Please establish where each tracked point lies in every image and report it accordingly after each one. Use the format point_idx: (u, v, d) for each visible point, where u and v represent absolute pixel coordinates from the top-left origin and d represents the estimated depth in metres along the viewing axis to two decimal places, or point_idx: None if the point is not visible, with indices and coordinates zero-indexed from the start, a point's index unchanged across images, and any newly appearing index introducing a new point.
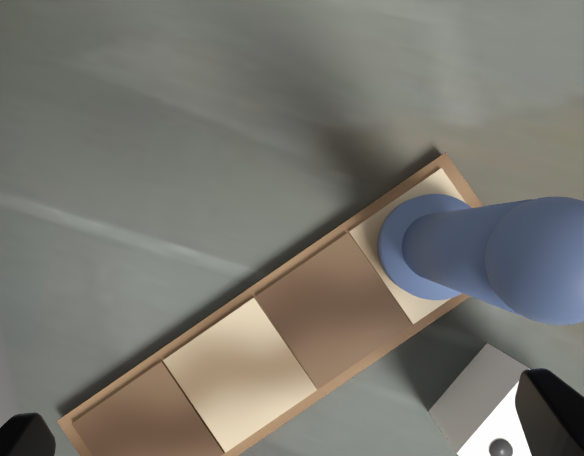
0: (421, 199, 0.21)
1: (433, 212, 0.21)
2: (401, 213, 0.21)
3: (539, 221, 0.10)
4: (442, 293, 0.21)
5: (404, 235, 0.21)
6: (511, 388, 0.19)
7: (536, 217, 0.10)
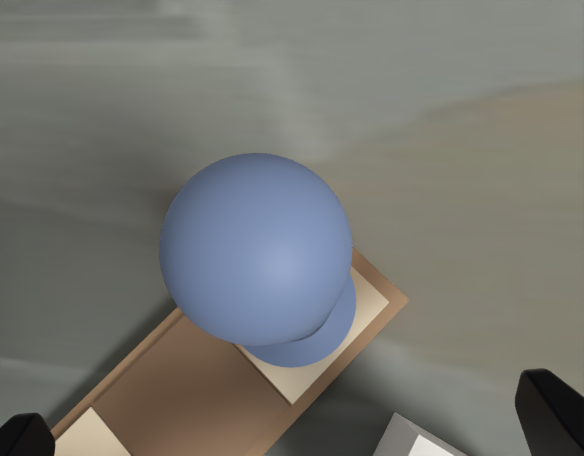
0: None
1: None
2: None
3: (187, 186, 0.07)
4: (309, 356, 0.17)
5: None
6: None
7: (188, 183, 0.07)
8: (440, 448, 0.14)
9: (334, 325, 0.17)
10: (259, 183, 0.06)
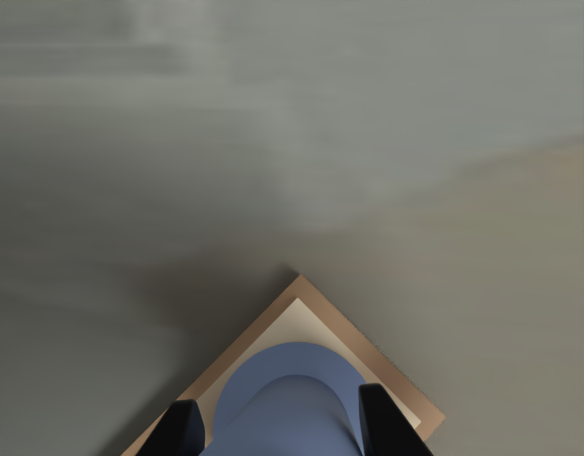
0: (262, 356, 0.14)
1: (283, 373, 0.14)
2: (235, 384, 0.14)
3: None
4: None
5: None
6: None
7: None
8: None
9: None
10: None
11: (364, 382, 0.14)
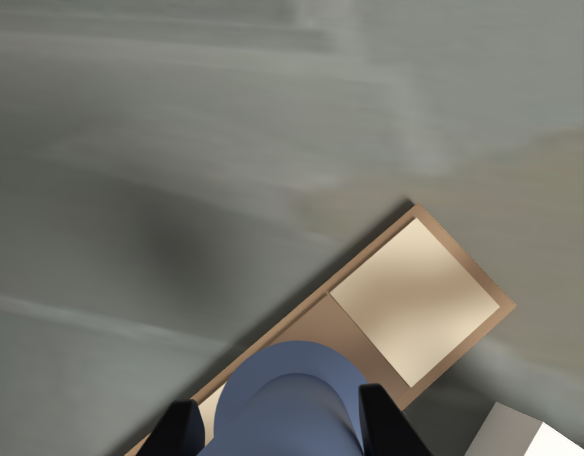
0: (262, 355, 0.14)
1: (284, 372, 0.14)
2: (236, 382, 0.14)
3: None
4: None
5: None
6: (527, 448, 0.17)
7: None
8: (561, 435, 0.17)
9: None
10: None
11: (365, 380, 0.14)
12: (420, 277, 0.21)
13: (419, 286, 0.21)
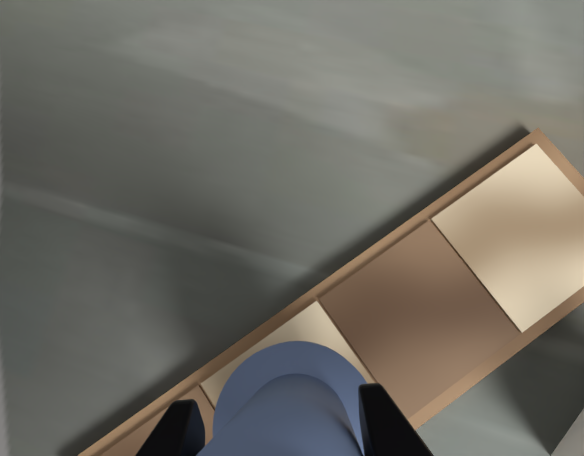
0: (262, 355, 0.14)
1: (283, 372, 0.14)
2: (235, 383, 0.14)
3: None
4: None
5: None
6: None
7: None
8: None
9: None
10: None
11: (364, 381, 0.13)
12: (538, 210, 0.19)
13: (536, 220, 0.18)
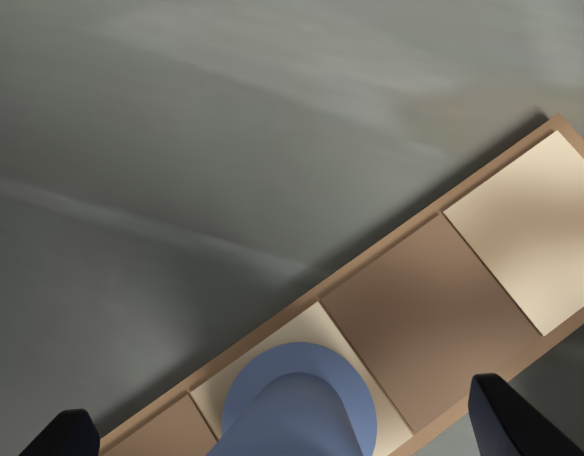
0: (267, 356, 0.15)
1: (287, 371, 0.15)
2: (242, 381, 0.15)
3: None
4: None
5: None
6: None
7: None
8: None
9: None
10: None
11: (361, 379, 0.15)
12: (560, 202, 0.17)
13: (558, 212, 0.17)
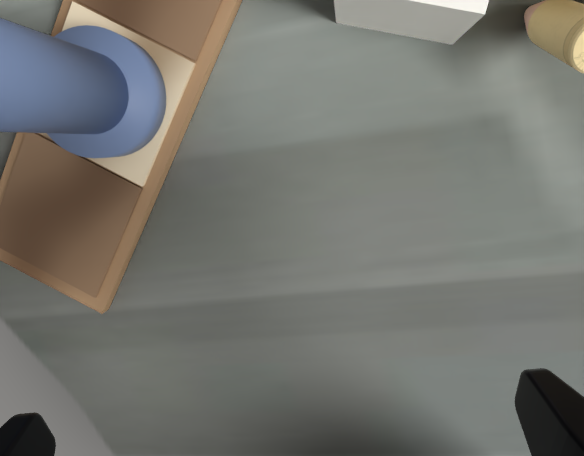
0: None
1: None
2: None
3: None
4: (133, 132, 0.18)
5: None
6: None
7: None
8: None
9: (137, 93, 0.17)
10: None
11: (114, 33, 0.17)
12: None
13: None
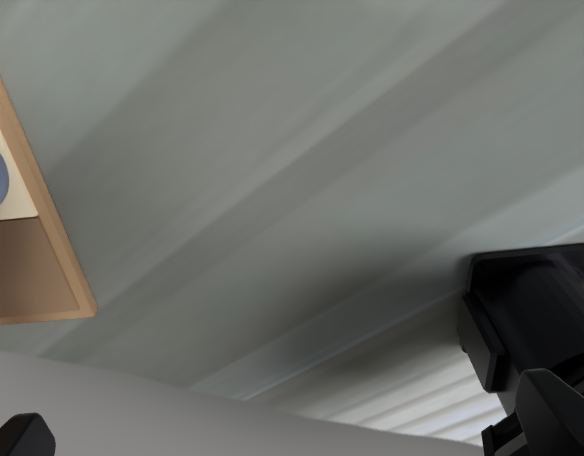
0: None
1: None
2: None
3: None
4: None
5: None
6: None
7: None
8: None
9: None
10: None
11: None
12: None
13: None
